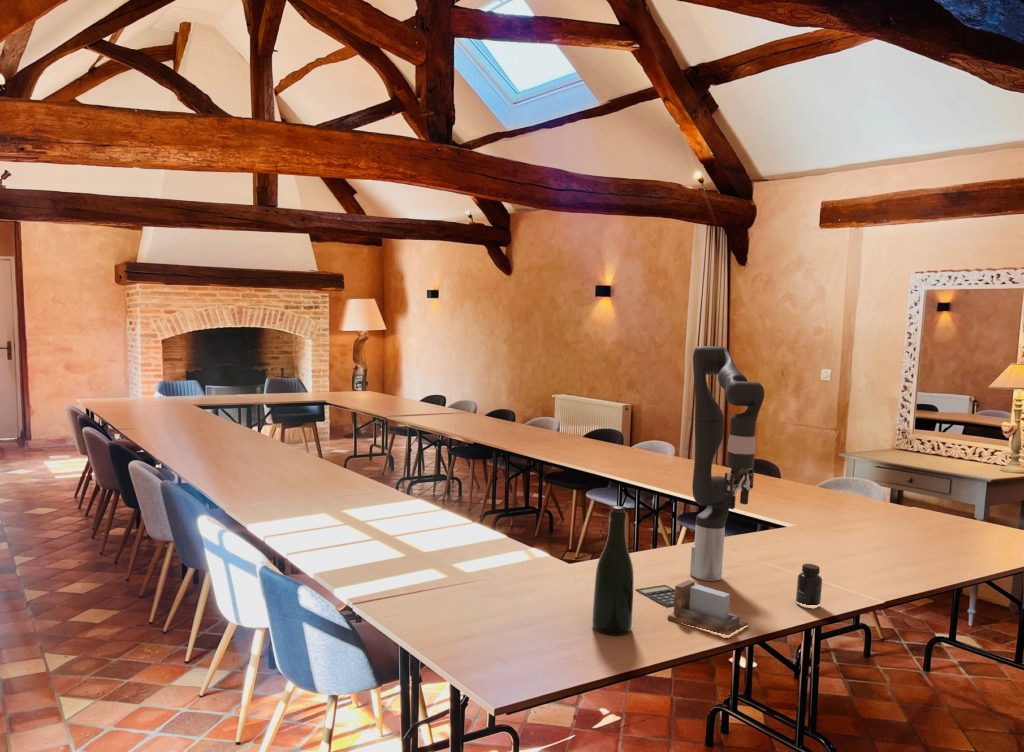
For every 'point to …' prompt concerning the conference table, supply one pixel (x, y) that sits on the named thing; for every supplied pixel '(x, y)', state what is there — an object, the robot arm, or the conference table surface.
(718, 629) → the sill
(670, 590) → the calculator
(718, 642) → the conference table surface
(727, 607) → the gray rectangular block
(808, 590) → the supplement bottle
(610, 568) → the dark green wine bottle
